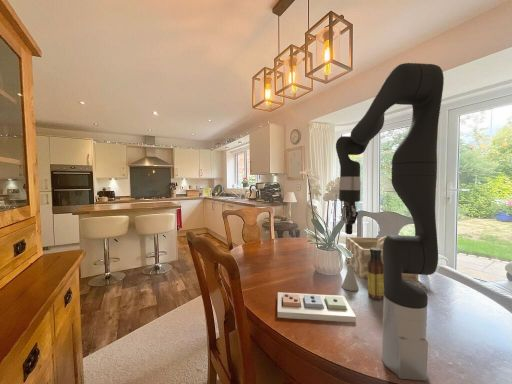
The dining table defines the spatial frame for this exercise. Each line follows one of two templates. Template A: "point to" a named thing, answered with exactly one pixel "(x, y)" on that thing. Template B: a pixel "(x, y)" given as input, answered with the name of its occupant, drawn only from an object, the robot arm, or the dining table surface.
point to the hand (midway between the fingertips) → (348, 233)
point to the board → (315, 310)
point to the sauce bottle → (375, 275)
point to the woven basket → (366, 255)
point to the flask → (350, 279)
